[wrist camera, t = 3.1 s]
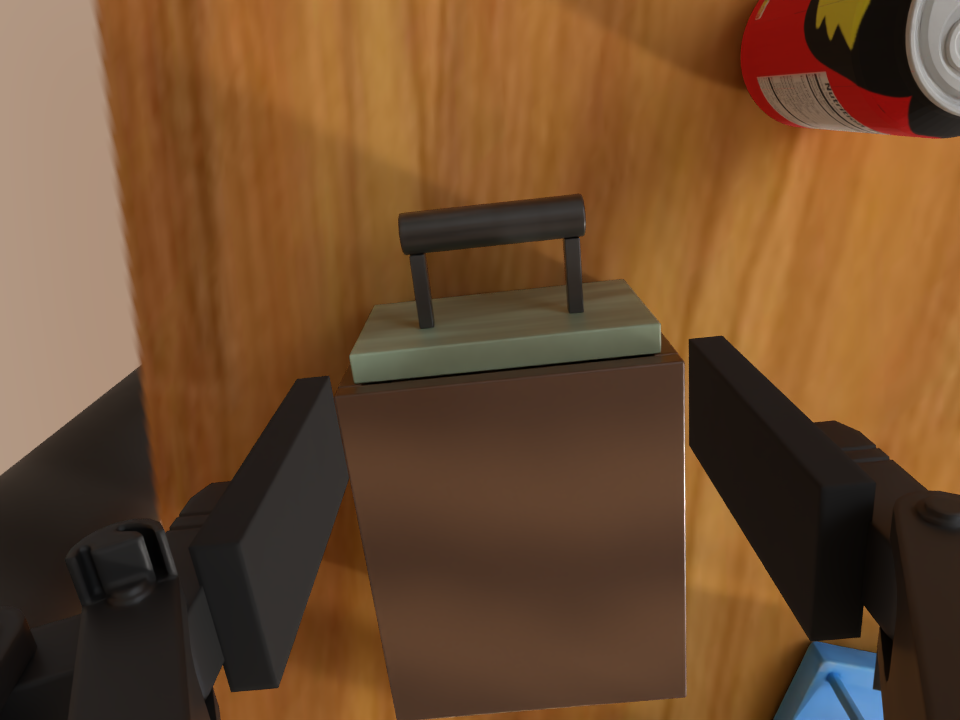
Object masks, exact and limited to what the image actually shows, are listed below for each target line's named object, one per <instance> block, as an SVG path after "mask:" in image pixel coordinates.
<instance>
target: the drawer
mask: <svg viewBox="0 0 960 720" xmlns="http://www.w3.org/2000/svg"><path fill="white" fill-rule="evenodd" d="M398 226H399V236H400V243H401V247H402V251H403V253H404V255H410V257H409V258H410V265H411V272H412V279H413V286H414V293H415V300H416V301H409V302H399V303H390V304H380V305H375V306H374V307H373V309H372V311H371V313H370V315H369V317H368V319H367V321H366V323H365V325H364V327H363V329H362V331H361V333H360V335H359V337H358V339H357V341H356V343H355V345H354V347H353V349H352V351H351V353H350V355H349V359H350V365H351V370H352V376H353V381H354V383H355V384H359V383H369V382H379V381H389V380H392V383H393V382H403V381H413V380H423V379H432V378H442V377H452V376H462V375H472V374H482V373H492V372H502V371H512V370H521V369H531V368H541V367H551V366H561V365H571V364H581V363H591V362H601V361H610V360H620V359H622V357H626V356H636V355H646V354H656V353H661V324H660V323H659V321H658V320H657V319H656V318H655V316H654V315H653V314H652V313H651V312H650V310H649V309H648V308H647V307H646V306H645V304H644V303H643V302H642V301H641V300H640V298H639V297H638V296H637V295H636V293H635V292H634V291H633V290H632V289H631V287H630V286H629V285H628V284H627V283H626V281H625V280H624V279H619V280H609V281H600V282H590V283H582V269H581V251H580V238H579V237H580V236H584V235H585V230H586V216H585V206H584V201H583V197H582V195H581V194H573V195H564V196H554V197H545V198H536V199H527V200H518V201H509V202H499V203H490V204H481V205H472V206H463V207H454V208H444V209H435V210H426V211H417V212H408V213H401V214H399V218H398ZM561 238H563V250H564V265H565V280H566V285H561V286H552V287H542V288H533V289H523V290H514V291H504V292H495V293H485V294H476V295H466V296H457V297H447V298H437V299H432V297H431V290H430V282H429V275H428V267H427V260H426V253H431V252H440V251H449V250H459V249H468V248H477V247H487V246H496V245H505V244H515V243H524V242H533V241H543V240H552V239H561Z"/></svg>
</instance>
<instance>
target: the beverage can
mask: <svg viewBox="0 0 960 720" xmlns="http://www.w3.org/2000/svg"><path fill="white" fill-rule="evenodd" d="M741 70H742V75H743V79H744V82H745V85H746V87H747V90H748V92H749V94H750V96H751V97H752V99H753V100H754V102H755V103H756V104H757V105H758V106H759V108H760V109H761V110H762V111H763V112H764V113H766V114H767V115H768V116H770V117H771V118H773V119H775V120H776V121H778V122H781V123H783V124H786V125H789V126H794V127H802V128H814V129H826V130H838V131H850V132H862V133H874V134H886V135H898V136H910V137H922V138H951V137H957V136H960V0H759V1H758V3H757V4H756V6H755V8H754V10H753V11H752V13H751V15H750V18H749V20H748V22H747V25H746V27H745V31H744V34H743V39H742V44H741Z"/></svg>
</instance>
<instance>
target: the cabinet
mask: <svg viewBox="0 0 960 720" xmlns="http://www.w3.org/2000/svg"><path fill="white" fill-rule="evenodd" d="M334 400H335V406H336V411H337V416H338V421H339V426H340V431H341V436H342V441H343V447H344V452H345V457H346V462H347V467H348V472H349V477H350V482H351V488H352V493H353V498H354V503H355V508H356V513H357V518H358V523H359V529H360V534H361V539H362V544H363V549H364V554H365V559H366V564H367V570H368V575H369V580H370V585H371V590H372V595H373V600H374V605H375V610H376V616H377V621H378V626H379V631H380V636H381V641H382V646H383V651H384V657H385V662H386V667H387V672H388V677H389V682H390V687H391V692H392V698H393V703H394V708H395V713H396V718H397V720H424V719H436V718H448V717H460V716H471V715H483V714H495V713H507V712H518V711H530V710H542V709H554V708H565V707H577V706H589V705H601V704H613V703H624V702H636V701H648V700H660V699H671V698H683V697H686V525H685V363H684V361H683V359H682V358H681V357H680V356H679V354H678V353H677V352H676V350H675V349H674V348H673V346H672V345H671V344H670V343H669V341H668V340H667V339H666V338H665V336H664V335H663V334H662V333H661V353H656V354H646V355H636V356H626V357H622V359H620V360H610V361H601V362H591V363H581V364H571V365H561V366H551V367H541V368H531V369H521V370H512V371H502V372H492V373H482V374H472V375H462V376H452V377H442V378H432V379H423V380H413V381H403V382H393V383H392V380H389V381H379V382H369V383H359V384H355V383H354V381H353V376H352V370H351V365H350V364H349V366H348V368H347V370H346V372H345V374H344V376H343V379H342V381H341V383H340V385H339V387H338V390H337V392H336V394H335V396H334Z"/></svg>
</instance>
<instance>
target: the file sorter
mask: <svg viewBox="0 0 960 720" xmlns="http://www.w3.org/2000/svg"><path fill="white" fill-rule="evenodd" d="M876 654H877V653H872V652H867V651H862V650H857V649H852V648H847V647H842V646H837V645H832V644H827V643H823V642H818V641H815V642H812V643H811V644H810V645H809V647H808V649H807V651H806V654H805V656H804V658H803V660H802V662H801V664H800V666H799V668H798V670H797V672H796V674H795V676H794V678H793V680H792V682H791V684H790V686H789V688H788V690H787V692H786V694H785V696H784V698H783V700H782V702H781V704H780V706H779V709H778V711H777V713H776V715H775V717H774V719H773V720H884V718H883V708H882V697H881V691H878V690H874V689H873V681H874V672H875V663H876Z"/></svg>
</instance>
